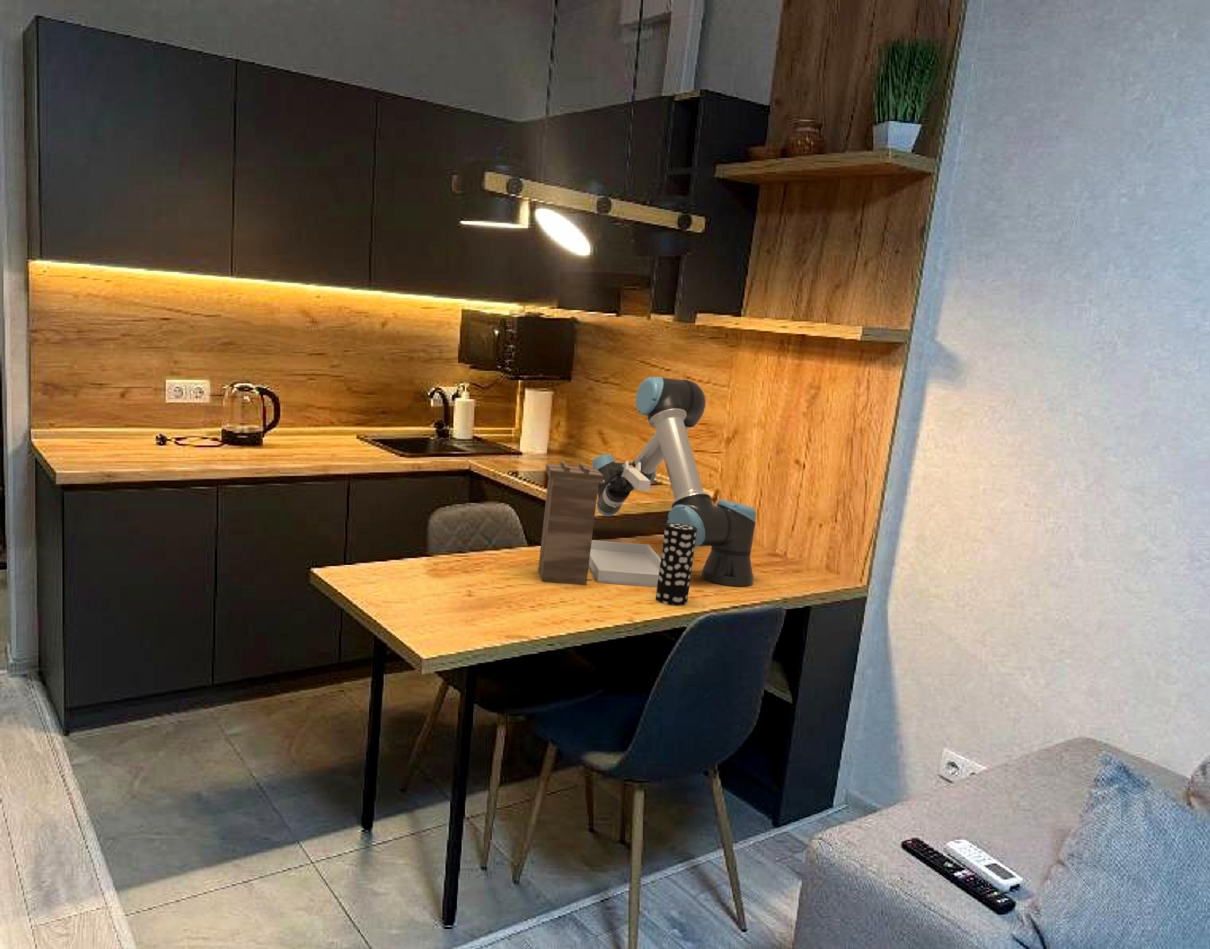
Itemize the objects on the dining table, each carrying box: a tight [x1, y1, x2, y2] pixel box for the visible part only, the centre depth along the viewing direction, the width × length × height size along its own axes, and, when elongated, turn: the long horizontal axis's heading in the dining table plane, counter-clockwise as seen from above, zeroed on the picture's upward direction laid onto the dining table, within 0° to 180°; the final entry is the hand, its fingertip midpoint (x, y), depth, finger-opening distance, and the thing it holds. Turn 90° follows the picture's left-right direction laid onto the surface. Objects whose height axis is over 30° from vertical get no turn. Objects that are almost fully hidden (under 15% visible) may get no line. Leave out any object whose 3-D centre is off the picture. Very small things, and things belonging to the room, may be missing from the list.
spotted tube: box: [655, 522, 697, 607], centre depth 241 cm, size 8×8×20 cm
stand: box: [537, 460, 604, 586], centre depth 251 cm, size 13×14×31 cm
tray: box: [588, 539, 661, 588], centre depth 272 cm, size 38×22×4 cm, turn 9°
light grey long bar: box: [622, 464, 651, 493], centre depth 269 cm, size 28×3×3 cm, turn 9°
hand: (633, 465), depth 273 cm, fingers closed on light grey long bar, 3 cm apart
